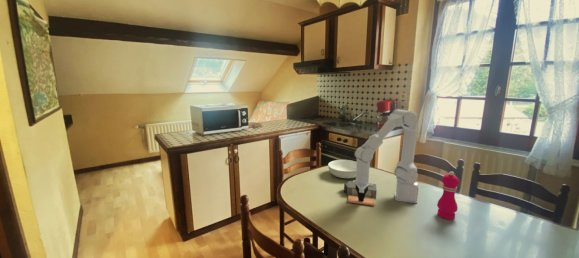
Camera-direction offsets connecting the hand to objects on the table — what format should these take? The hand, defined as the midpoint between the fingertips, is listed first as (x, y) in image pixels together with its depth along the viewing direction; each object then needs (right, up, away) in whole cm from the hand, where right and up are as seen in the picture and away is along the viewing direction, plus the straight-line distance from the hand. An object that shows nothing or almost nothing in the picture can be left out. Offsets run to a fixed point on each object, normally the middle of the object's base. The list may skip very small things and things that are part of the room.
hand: (361, 200), depth 113 cm
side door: (+2, 0, +6) cm, 6 cm away
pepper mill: (+33, -4, -10) cm, 35 cm away
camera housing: (+3, 0, +10) cm, 11 cm away
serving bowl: (+1, +5, +35) cm, 35 cm away
